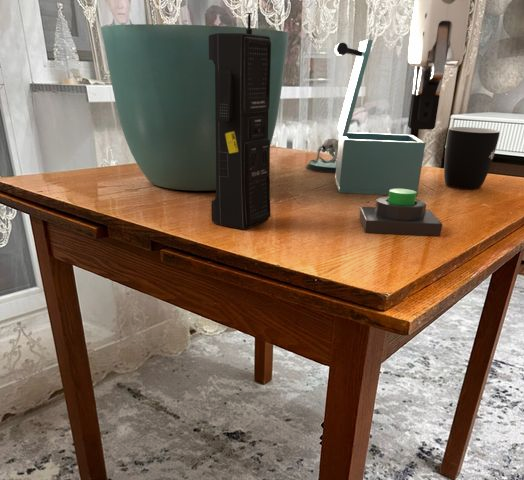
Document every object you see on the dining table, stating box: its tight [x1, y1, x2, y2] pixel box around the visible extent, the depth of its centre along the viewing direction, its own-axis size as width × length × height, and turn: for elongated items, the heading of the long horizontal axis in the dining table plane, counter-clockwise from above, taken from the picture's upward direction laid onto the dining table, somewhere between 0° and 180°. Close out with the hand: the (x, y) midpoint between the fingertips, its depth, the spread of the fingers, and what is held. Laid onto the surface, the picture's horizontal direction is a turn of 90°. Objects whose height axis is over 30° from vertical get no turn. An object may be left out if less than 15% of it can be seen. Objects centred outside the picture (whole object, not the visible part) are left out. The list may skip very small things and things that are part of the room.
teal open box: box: [334, 131, 426, 197], centre depth 98 cm, size 14×12×9 cm
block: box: [358, 196, 443, 237], centre depth 75 cm, size 10×8×4 cm
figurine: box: [305, 138, 339, 174], centre depth 115 cm, size 11×12×6 cm
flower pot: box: [100, 23, 290, 192], centre depth 93 cm, size 30×30×24 cm
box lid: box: [334, 38, 374, 137], centre depth 92 cm, size 14×12×5 cm
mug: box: [443, 126, 500, 190], centre depth 103 cm, size 12×9×10 cm
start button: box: [388, 189, 417, 205], centre depth 74 cm, size 4×4×2 cm
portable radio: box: [209, 12, 272, 231], centre depth 69 cm, size 8×6×25 cm
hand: (420, 128), depth 71 cm, fingers closed
